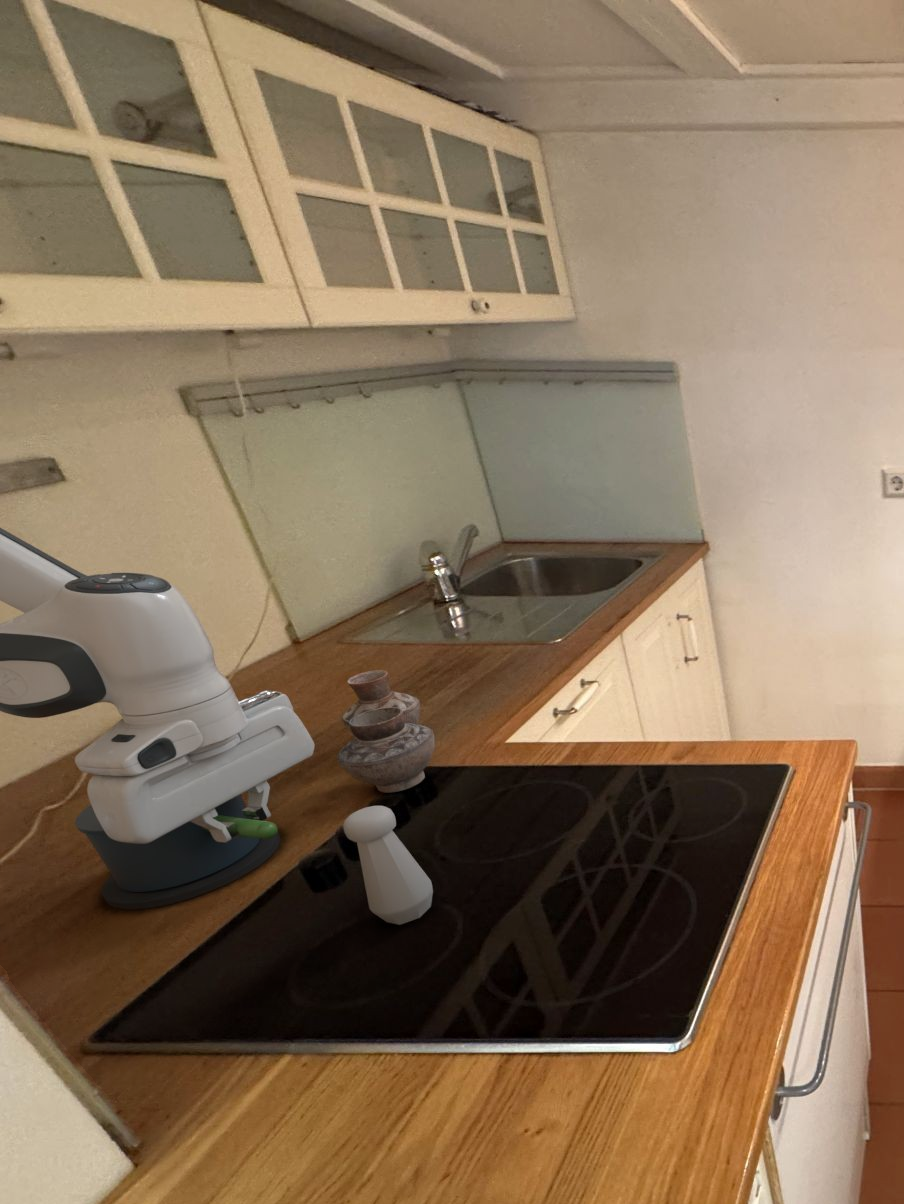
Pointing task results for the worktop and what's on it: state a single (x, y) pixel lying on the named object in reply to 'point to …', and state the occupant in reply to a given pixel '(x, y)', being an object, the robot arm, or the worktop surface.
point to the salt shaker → (388, 867)
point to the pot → (175, 849)
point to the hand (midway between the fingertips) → (244, 829)
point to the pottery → (385, 735)
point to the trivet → (192, 889)
